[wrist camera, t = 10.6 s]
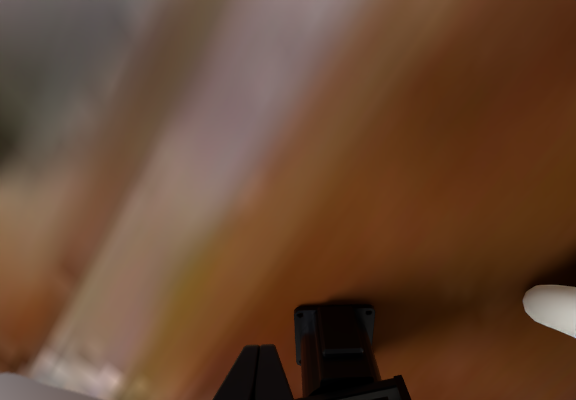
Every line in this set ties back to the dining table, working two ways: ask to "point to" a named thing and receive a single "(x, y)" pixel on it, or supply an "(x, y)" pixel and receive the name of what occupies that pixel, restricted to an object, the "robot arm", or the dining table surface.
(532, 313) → the white decorative knot
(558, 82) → the dining table surface
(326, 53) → the dining table surface
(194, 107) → the dining table surface
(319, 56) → the dining table surface
